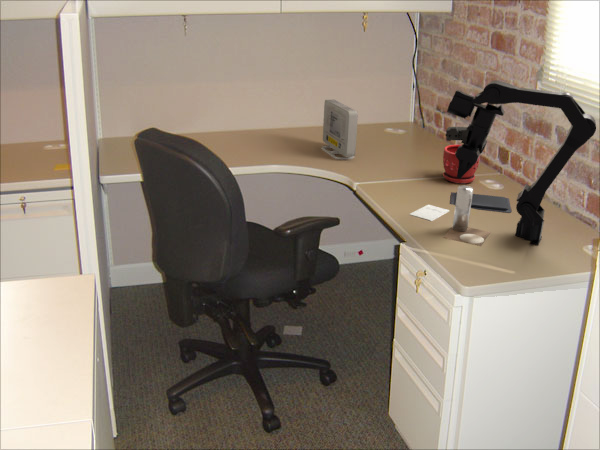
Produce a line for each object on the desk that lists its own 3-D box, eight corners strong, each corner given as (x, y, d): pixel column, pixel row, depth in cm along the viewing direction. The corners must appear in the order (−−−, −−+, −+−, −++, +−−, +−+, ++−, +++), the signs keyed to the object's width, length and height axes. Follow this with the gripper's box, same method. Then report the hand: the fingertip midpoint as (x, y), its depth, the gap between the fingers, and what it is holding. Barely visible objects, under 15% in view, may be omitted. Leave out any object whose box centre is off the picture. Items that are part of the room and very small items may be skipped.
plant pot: (436, 174, 243) (439, 143, 238) (469, 174, 244) (473, 144, 239) (446, 185, 231) (450, 153, 226) (481, 185, 232) (486, 154, 227)
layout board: (490, 234, 189) (490, 231, 189) (480, 248, 180) (481, 245, 179) (454, 226, 194) (454, 223, 194) (442, 240, 184) (442, 236, 184)
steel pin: (469, 228, 191) (475, 187, 186) (465, 233, 187) (471, 191, 183) (454, 225, 193) (460, 184, 188) (450, 230, 189) (456, 188, 184)
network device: (359, 160, 256) (363, 111, 248) (339, 162, 253) (342, 112, 245) (335, 144, 278) (337, 98, 270) (316, 145, 275) (318, 99, 268)
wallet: (449, 202, 210) (451, 188, 224) (448, 208, 211) (450, 193, 224) (512, 210, 206) (510, 195, 219) (511, 215, 206) (509, 200, 220)
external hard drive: (407, 218, 201) (427, 208, 210) (431, 225, 196) (449, 214, 205) (408, 213, 200) (427, 203, 209) (431, 220, 195) (450, 209, 204)
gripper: (460, 108, 191) (441, 155, 198) (448, 121, 175) (428, 172, 182) (495, 121, 188) (476, 169, 195) (487, 135, 172) (465, 186, 179)
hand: (461, 173), depth 188 cm, fingers open, 9 cm apart
